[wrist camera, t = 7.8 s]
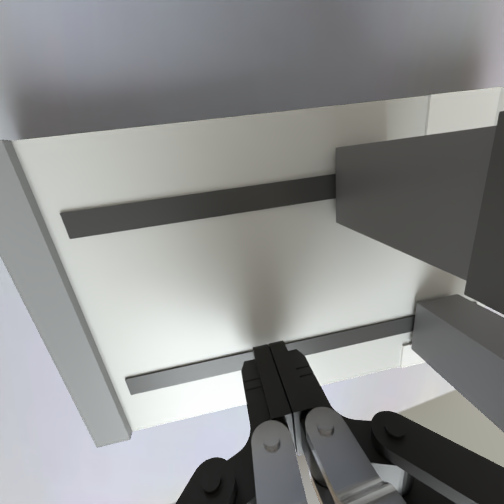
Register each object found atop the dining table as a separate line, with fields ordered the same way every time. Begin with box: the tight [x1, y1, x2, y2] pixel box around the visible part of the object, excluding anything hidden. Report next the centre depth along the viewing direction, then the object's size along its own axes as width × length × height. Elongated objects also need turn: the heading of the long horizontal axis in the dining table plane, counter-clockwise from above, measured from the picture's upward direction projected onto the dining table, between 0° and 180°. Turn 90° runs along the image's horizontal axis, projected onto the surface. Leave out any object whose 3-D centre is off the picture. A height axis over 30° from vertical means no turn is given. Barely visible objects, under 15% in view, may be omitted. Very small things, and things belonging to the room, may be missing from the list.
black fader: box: [336, 111, 504, 314], centre depth 7 cm, size 3×3×7 cm
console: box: [0, 87, 504, 448], centre depth 13 cm, size 14×22×3 cm, turn 97°
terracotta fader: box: [411, 294, 504, 432], centre depth 10 cm, size 3×3×7 cm
